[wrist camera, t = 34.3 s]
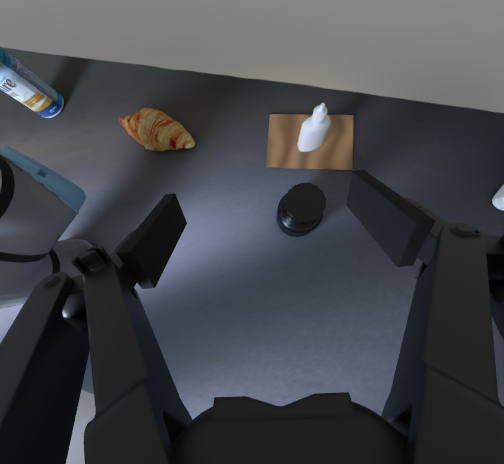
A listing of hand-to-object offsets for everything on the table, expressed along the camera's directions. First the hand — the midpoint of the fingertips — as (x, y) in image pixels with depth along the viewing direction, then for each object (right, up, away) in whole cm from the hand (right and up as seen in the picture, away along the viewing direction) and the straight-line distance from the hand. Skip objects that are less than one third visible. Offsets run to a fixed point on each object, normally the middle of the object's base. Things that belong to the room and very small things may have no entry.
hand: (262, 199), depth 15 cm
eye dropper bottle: (+13, +18, +31) cm, 39 cm away
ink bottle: (+9, +1, +29) cm, 31 cm away
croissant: (-25, +22, +36) cm, 49 cm away
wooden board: (+13, +19, +32) cm, 39 cm away
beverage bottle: (-59, +34, +41) cm, 79 cm away
